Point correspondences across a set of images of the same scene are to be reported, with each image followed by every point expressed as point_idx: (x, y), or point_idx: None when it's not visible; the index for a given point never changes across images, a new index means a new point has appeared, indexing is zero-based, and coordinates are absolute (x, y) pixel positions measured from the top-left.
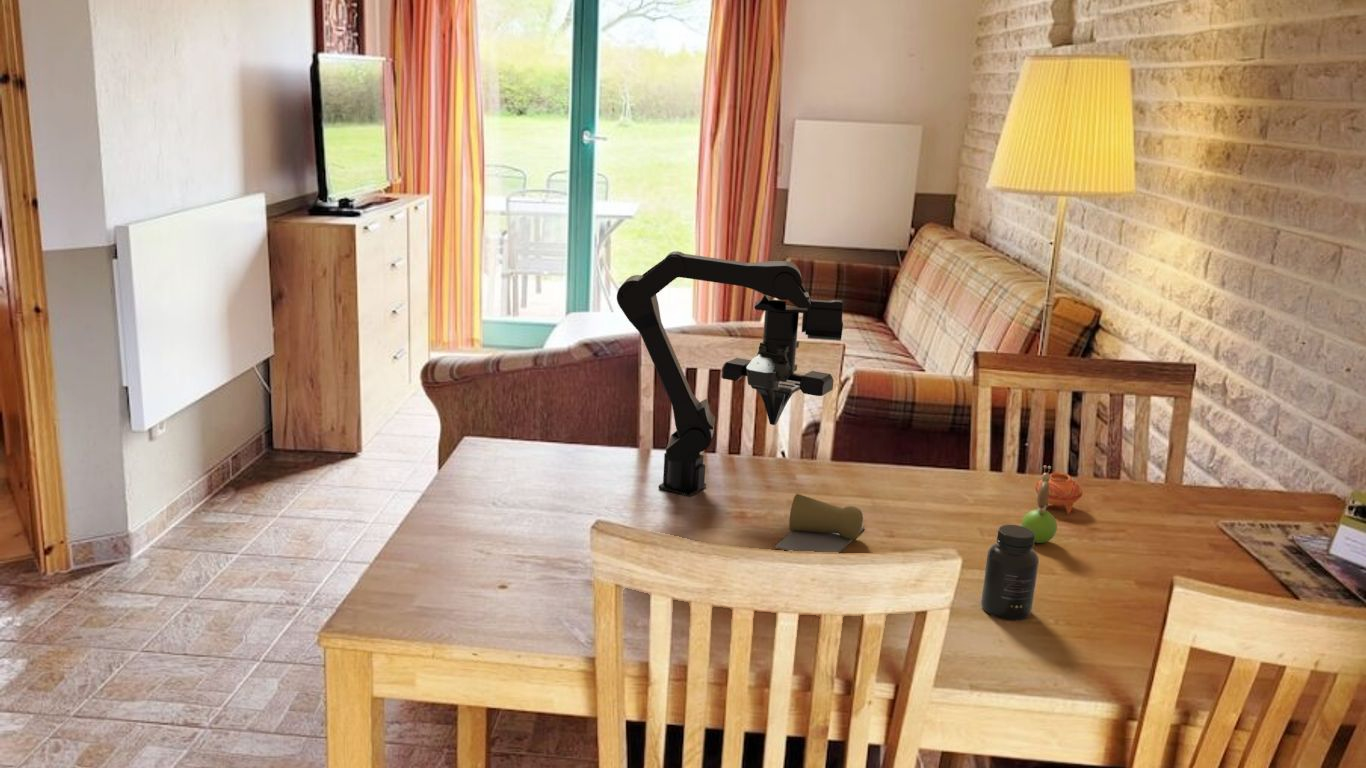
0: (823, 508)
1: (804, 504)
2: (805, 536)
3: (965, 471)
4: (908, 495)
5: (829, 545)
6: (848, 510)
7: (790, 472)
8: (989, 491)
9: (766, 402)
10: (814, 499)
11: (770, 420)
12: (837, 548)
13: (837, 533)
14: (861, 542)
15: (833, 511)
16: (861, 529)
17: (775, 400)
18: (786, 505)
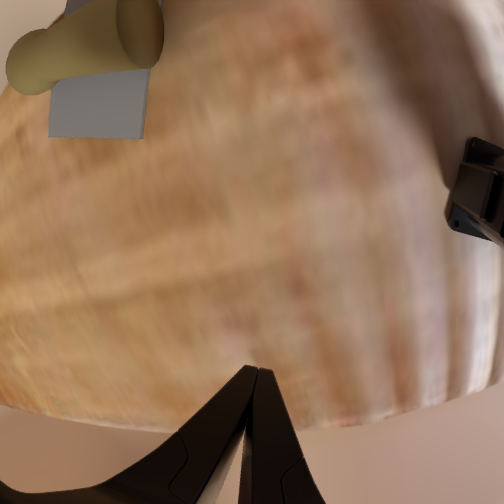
0: (60, 22)
1: (97, 1)
2: None
3: (66, 418)
4: (61, 330)
5: (82, 6)
6: (18, 45)
7: None
8: (20, 365)
9: (288, 483)
10: (76, 37)
11: (266, 382)
12: (70, 6)
13: None
14: None
15: (45, 32)
16: (49, 119)
17: (188, 492)
18: (220, 179)
